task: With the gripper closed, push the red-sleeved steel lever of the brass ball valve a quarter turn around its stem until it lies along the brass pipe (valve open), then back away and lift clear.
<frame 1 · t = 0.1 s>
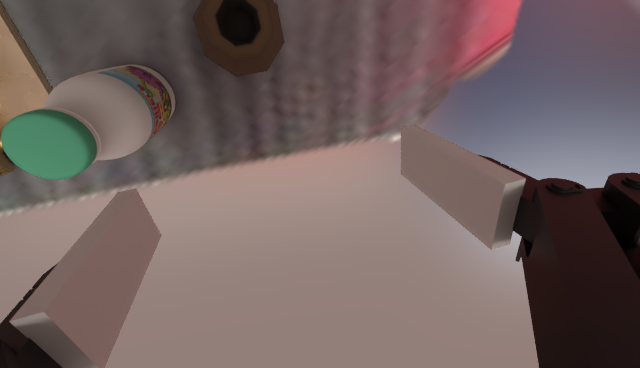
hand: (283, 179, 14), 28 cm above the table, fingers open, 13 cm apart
beer bottle: (242, 34, 35), on the table
milk bottle: (143, 96, 35), on the table
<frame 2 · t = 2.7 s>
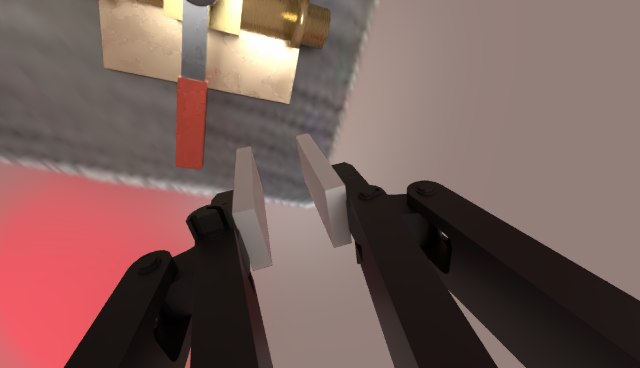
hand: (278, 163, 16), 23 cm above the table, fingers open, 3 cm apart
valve: (212, 0, 30), on the table
lever: (193, 75, 23), point 10 cm above the table, hinge at 0.0°
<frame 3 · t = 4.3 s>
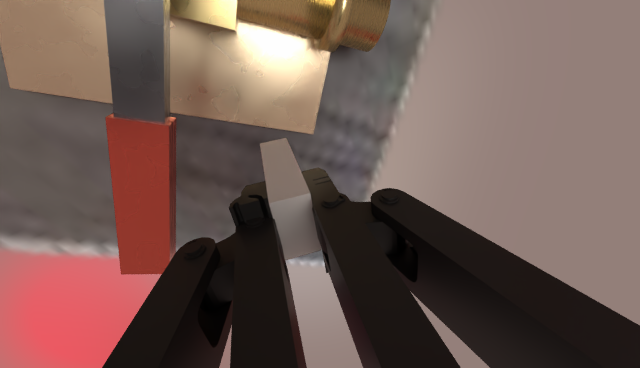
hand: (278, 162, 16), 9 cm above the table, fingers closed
lever: (143, 110, 11), point 10 cm above the table, hinge at 0.0°
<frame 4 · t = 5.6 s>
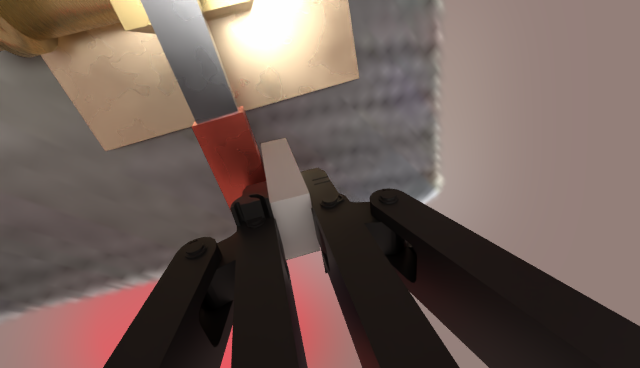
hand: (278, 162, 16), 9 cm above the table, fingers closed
lever: (215, 108, 12), point 11 cm above the table, hinge at -0.4°, touching gripper
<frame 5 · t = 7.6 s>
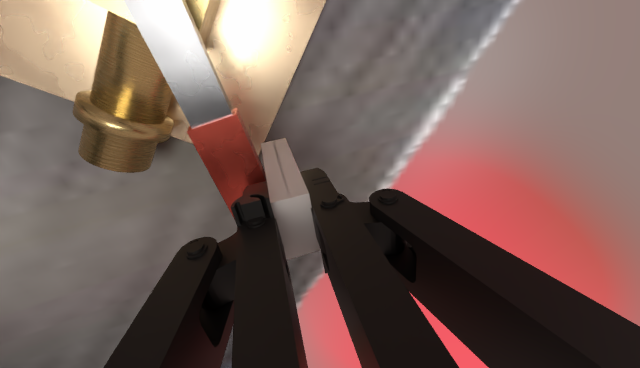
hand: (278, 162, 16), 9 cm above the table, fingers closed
lever: (210, 112, 12), point 10 cm above the table, hinge at -46.6°, touching gripper
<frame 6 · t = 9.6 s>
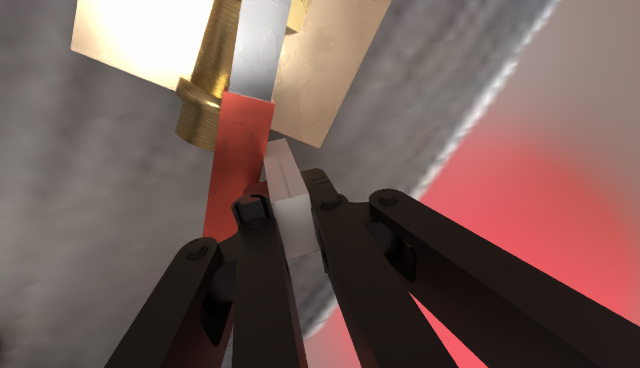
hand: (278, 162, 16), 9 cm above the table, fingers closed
lever: (250, 88, 12), point 10 cm above the table, hinge at -80.1°, touching gripper
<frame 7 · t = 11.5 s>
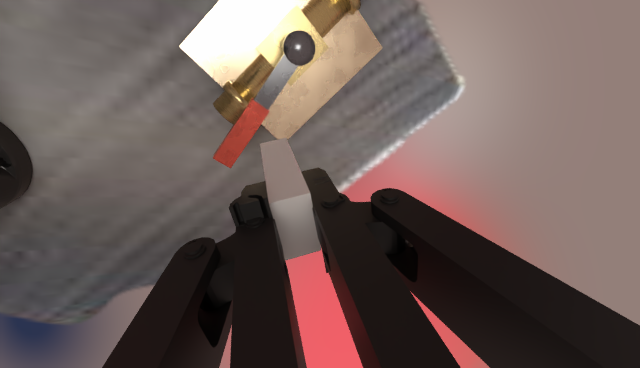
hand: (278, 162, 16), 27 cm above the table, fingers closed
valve: (287, 47, 38), on the table
lever: (262, 101, 30), point 10 cm above the table, hinge at -80.1°
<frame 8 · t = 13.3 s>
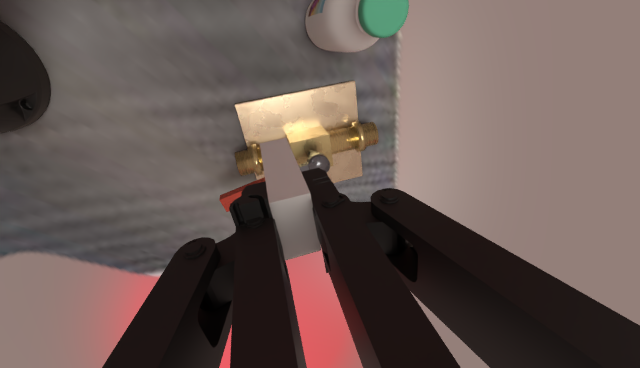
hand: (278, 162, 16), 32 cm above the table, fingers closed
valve: (304, 142, 50), on the table
lever: (276, 181, 41), point 10 cm above the table, hinge at -80.1°
milk bottle: (328, 22, 42), on the table
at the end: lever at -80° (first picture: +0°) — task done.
